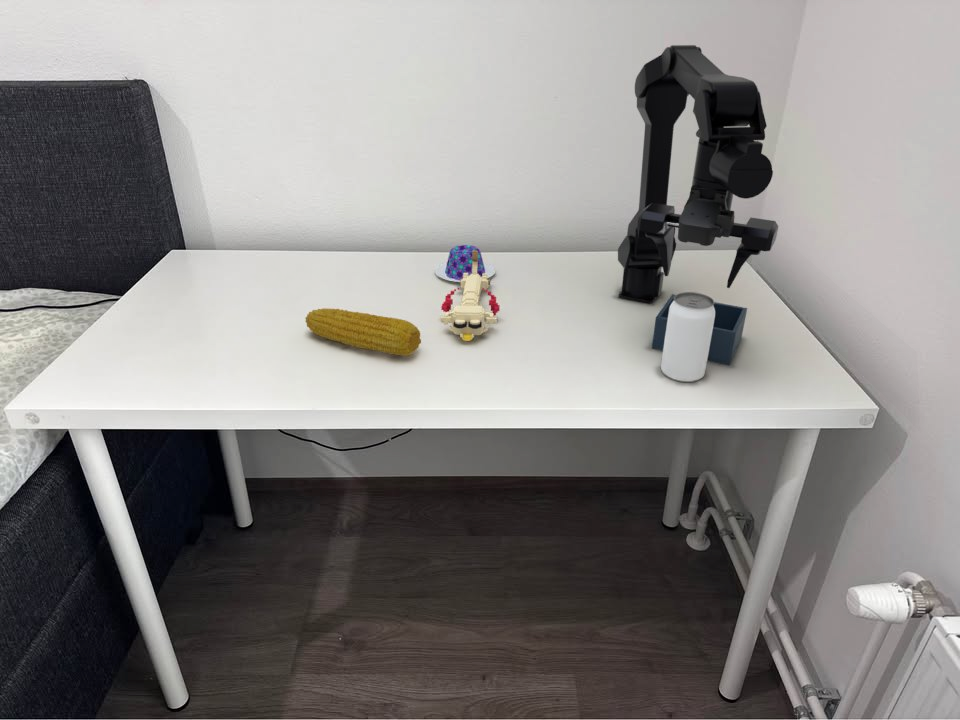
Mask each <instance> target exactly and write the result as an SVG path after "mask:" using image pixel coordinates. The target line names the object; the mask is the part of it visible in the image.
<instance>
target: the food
mask: <svg viewBox="0 0 960 720" xmlns="http://www.w3.org/2000/svg"><path fill="white" fill-rule="evenodd" d="M304 319H305V323H306V327H307V328H309V331H311V332H312V333H313V334H315V335H317V336H320V337H322V338H326V339H328V340H331V341H334V342H337V343H342V344H344V345H348V346H352V347H356V348H360V349H367V350H369V351H374V352H381V353H386V354H390V355H396V356H411V355H413V353H414V352H416V351H417V350H418V349H419V345H420V344H421V343H422V339H421V331H420V329H419V328H418V326H416V325H414V324H413V323H412V322H410V321H408V320H406V319H401V318H396V317H388V316H383V315H376V314H371V313H368V312H367V313H365V312H359V311H349V310H347V309H345V310H344V309H339V308H325V307H324V308H318V309H312V310H311V311H309V312H308V313H307V314H306V317H305V318H304Z"/></svg>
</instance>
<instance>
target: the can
mask: <svg viewBox="0 0 960 720" xmlns="http://www.w3.org/2000/svg"><path fill="white" fill-rule="evenodd" d="M674 295H675V296H674V301H673V302H672V304H671V305H670V308H669V314H668V320H667V327H666V334H665V341H664V348H663V351H662V356H661V362H660V363H661V364H660V370H661V372H662V373H663V375H664V376H665V377H667V378H668V379H670V380H673V381H676V382H679V383H693V382H697V381H699V380H700V379H702V378H703V377H704V376H705V373H706V368H707V365H708V361H707V359H708V353H709V347H710V342H711V336H712V331H713V325H714V319H715V309H714V306H713V305H714V302H715V300H714V299H713V298H712V297H711V296H709V295H706V294H704V293H700V292H692V291H685V292H680V293H677V294H674Z"/></svg>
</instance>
